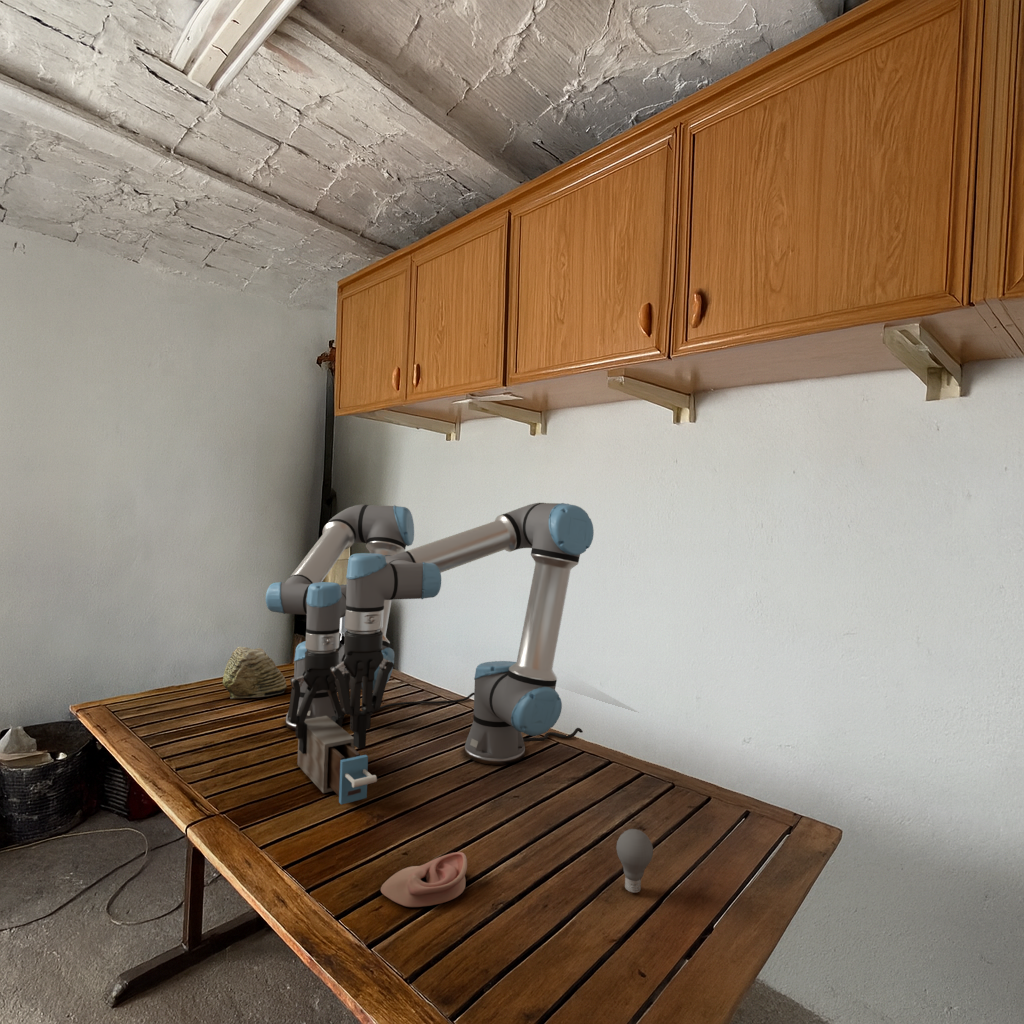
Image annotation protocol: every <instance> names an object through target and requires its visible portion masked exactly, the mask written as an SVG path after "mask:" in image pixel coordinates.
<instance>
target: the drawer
mask: <svg viewBox="0 0 1024 1024" xmlns="http://www.w3.org/2000/svg"><path fill="white" fill-rule="evenodd" d="M368 769H369V756H368V755H367V754H363V755H361V754H360V753H359V752H358V751H357V750H356V749H355V750H354V749H353V748H352V747H351V746H350V745H349V744H343V745H338V746H333V747H328V774H327V784H328V785H329V786H330V787H331V788H332V789H333V790H334V791H333V792H334V793H335V794H336V796H338V803H339V804H340V805H341V806H342V805H345V804H349V803H353V802H357V801H361V800H365V799H367V798H368V785H371V784H374V783H377V781H378V777H377V775H376V774H371V773H370V772H369V771H368Z"/></svg>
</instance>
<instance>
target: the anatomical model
mask: <svg viewBox="0 0 1024 1024" xmlns="http://www.w3.org/2000/svg"><path fill="white" fill-rule="evenodd" d="M467 870H468V858H467V856H466V853H464V852H462V851H457V852H456V851H455V852H450V853H448V854H444V855H441V856H439V857H436V858H434V859H432V860H430V861H428V862H426V863H424V864H421V865H411V866H408V867H405V868H402V869H400V870H399V871H396V872H395V873H394V874H392V875H391V876H390V877H389V878H388V879H387V880H386V881H385V882H383V884H382V885H381V886H380V893H381V894H382V895H383V896H384V897H386V898H388V899H389V900H391V901H392V902H394V903H396V904H398V905H400V906H403V907H407V908H422V907H430V906H435V905H440V904H443V903H446V902H449V901H452V900H454V899H456V898H458V897H459V896H460V895H461V894H463V892H464V891H465V889H466V882H467V880H466V874H467Z"/></svg>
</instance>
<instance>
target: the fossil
mask: <svg viewBox="0 0 1024 1024" xmlns="http://www.w3.org/2000/svg"><path fill="white" fill-rule="evenodd" d="M222 676H223V677H222V685H223V687H224V688H225V690H226V691H228V693H229V698H230V699H250V698H264V697H271V696H275V695H281V694H284V693H285V691H286V689H287V687H288V686H287V680H286V678H285V676H284V674H283V673H282V672H281V669H279V668H278V667H277V665H276V663H275V662H274V660H273V659H272V658H271V657H270V656H269V655H268V654H267V653H266V652H265V650H264V649H263V648H260V647H258V648H251V647H247V646H246V647H245V646H238V647H237V648H236V649H235V650H233V651H232V653H231V656H230V657H229V659H228V660H227V663H226V666H225V668H224V671H223V675H222Z"/></svg>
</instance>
